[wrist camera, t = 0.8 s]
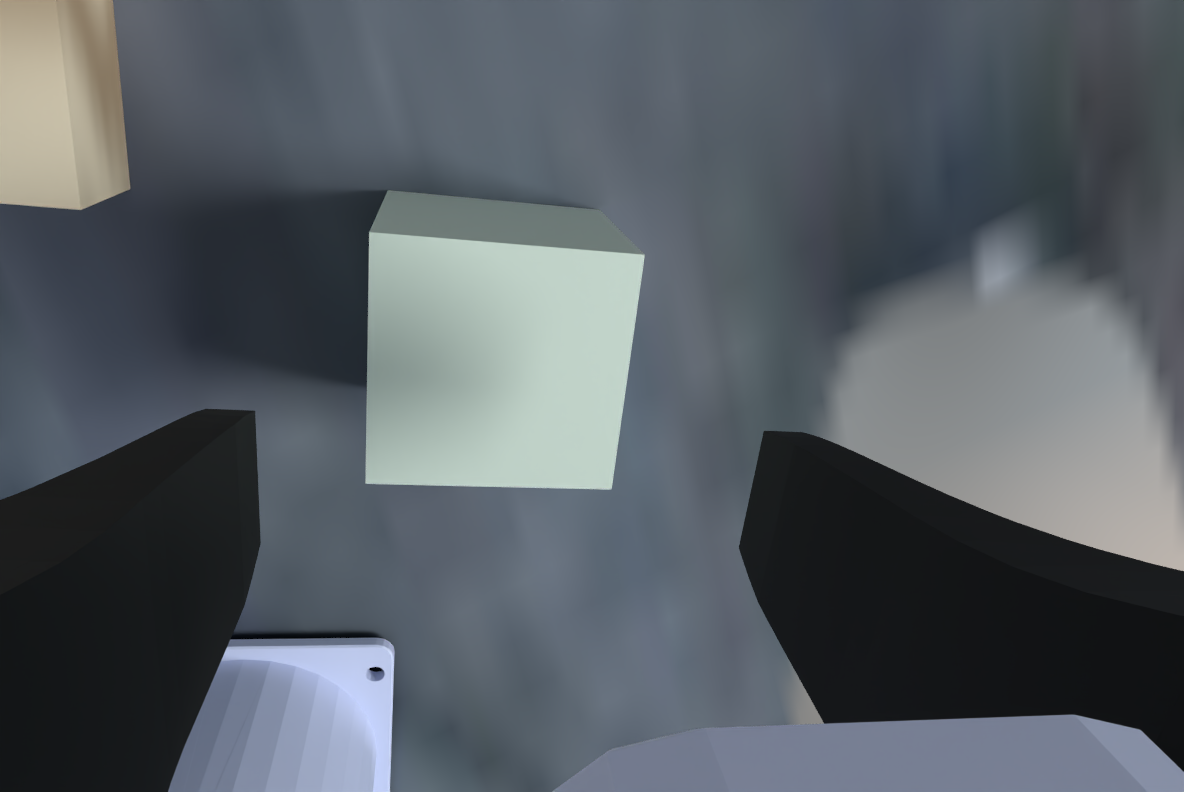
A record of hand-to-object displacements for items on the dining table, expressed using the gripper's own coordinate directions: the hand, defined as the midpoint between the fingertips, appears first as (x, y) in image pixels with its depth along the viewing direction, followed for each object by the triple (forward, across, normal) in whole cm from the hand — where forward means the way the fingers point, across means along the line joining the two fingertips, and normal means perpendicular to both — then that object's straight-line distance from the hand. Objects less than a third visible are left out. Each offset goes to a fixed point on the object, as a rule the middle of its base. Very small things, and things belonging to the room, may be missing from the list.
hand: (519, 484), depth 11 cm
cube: (+10, 0, 0) cm, 10 cm away
